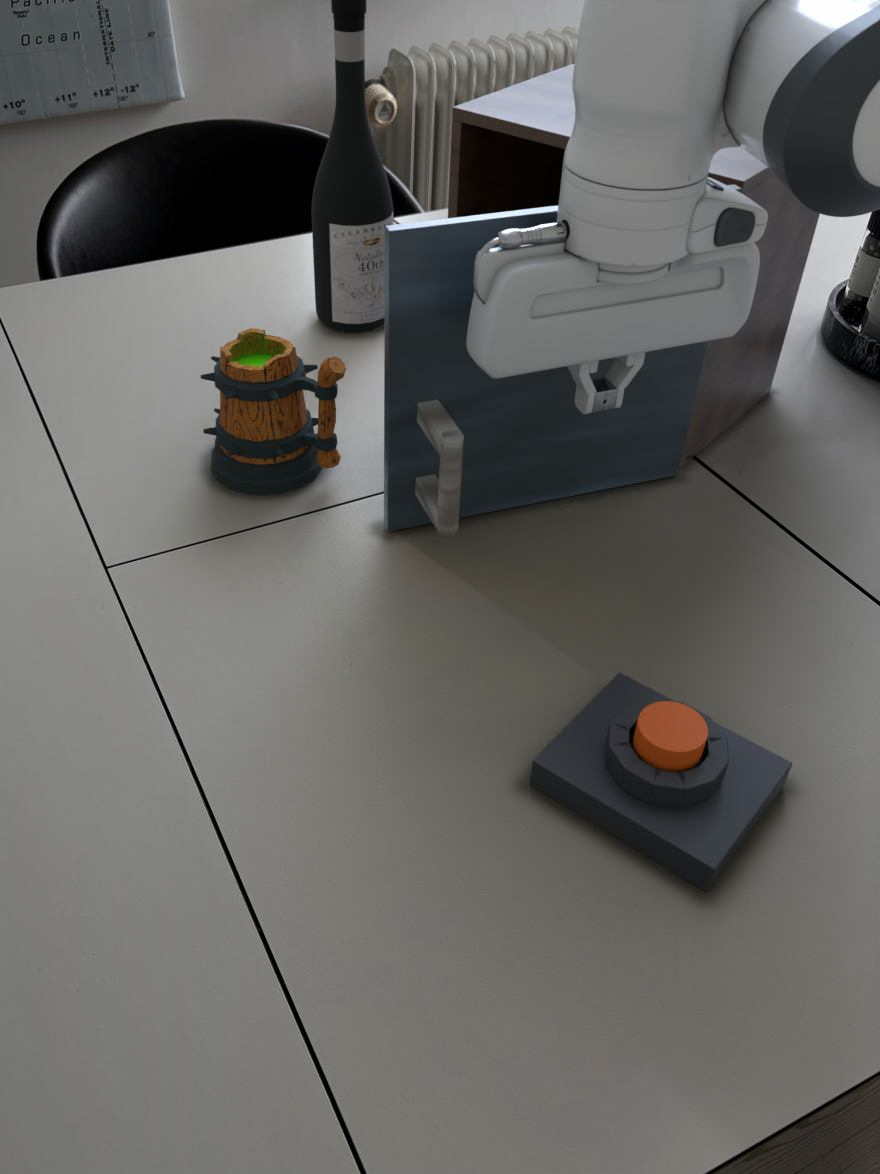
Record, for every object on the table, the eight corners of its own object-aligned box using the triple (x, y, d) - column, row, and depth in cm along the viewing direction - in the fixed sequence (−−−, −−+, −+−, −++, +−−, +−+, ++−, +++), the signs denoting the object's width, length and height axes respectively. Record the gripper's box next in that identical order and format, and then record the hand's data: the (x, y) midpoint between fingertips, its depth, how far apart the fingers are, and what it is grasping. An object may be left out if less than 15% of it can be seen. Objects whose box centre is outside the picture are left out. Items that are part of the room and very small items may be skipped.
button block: (783, 786, 64) (801, 742, 61) (706, 892, 58) (722, 849, 55) (614, 695, 69) (623, 651, 67) (528, 784, 64) (535, 740, 61)
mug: (183, 475, 88) (164, 348, 80) (252, 420, 94) (240, 299, 87) (315, 520, 83) (308, 390, 75) (377, 459, 90) (376, 334, 82)
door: (713, 513, 84) (791, 218, 68) (411, 576, 78) (420, 267, 62) (671, 469, 89) (735, 183, 73) (383, 525, 83) (384, 225, 67)
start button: (714, 743, 61) (720, 722, 60) (681, 783, 59) (687, 763, 58) (654, 711, 63) (659, 690, 62) (620, 748, 61) (624, 728, 60)
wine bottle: (405, 327, 109) (412, -5, 88) (338, 344, 106) (329, 4, 85) (368, 297, 114) (366, -23, 93) (303, 313, 111) (286, -15, 90)
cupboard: (678, 470, 89) (744, 181, 73) (440, 373, 101) (452, 106, 85) (770, 391, 100) (845, 122, 83) (544, 311, 112) (572, 63, 95)
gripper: (498, 253, 61) (483, 456, 70) (791, 211, 66) (740, 404, 76) (456, 215, 65) (447, 410, 74) (734, 178, 71) (693, 365, 80)
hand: (597, 407), depth 75 cm, fingers closed
